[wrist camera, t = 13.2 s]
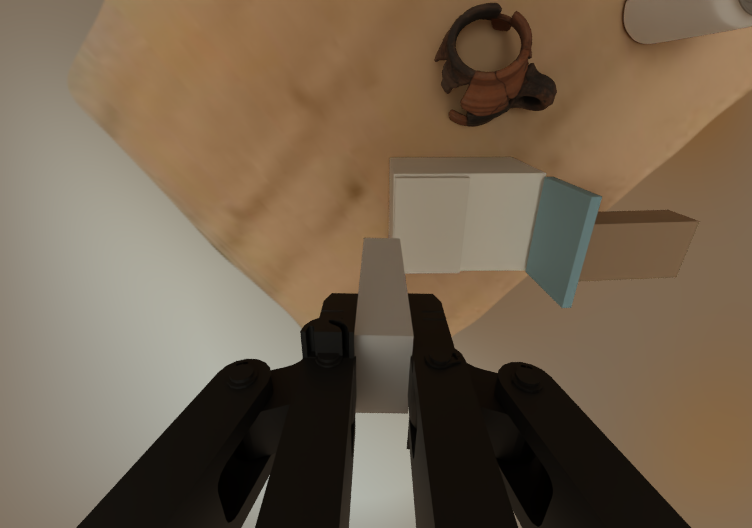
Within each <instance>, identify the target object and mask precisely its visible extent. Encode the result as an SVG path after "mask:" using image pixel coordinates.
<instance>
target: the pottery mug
mask: <svg viewBox="0 0 752 528" xmlns="http://www.w3.org/2000/svg"><path fill="white" fill-rule="evenodd" d="M501 11H502V8H501V6H500V5H499V4H498V3H486V4H481V5H477V6H475V7H472V8H470V9H469V10H467V11H466V12H464V14H463V15H461V16H460V17H459V18H457V19H456V21H455V22H454V24H453V25H452V27H451V28H450V30H449V31H448V32H447V34H446V35H445V37H444V39H443V42H442V44H441V46H440V48H439V50H438V52H437V54H436V57H435V62H437V61H439V60H446V63H445V64H444V66H443V70H442V78H443V79H442V82H441V86H442V88H443V89H444V91H445V92H446V93H447V94H449V93H450V92H451V90H452V89H453V88H457V87H459V86H462V85H467V84H469V86H468V88H467V90H466V93H465V95H464V97H463V98H462V100H461V102H460V103H461V107H462V108H463V109H464V110H466V111H468V112H467V116H464V115H462V114H460V113H458V112H456V111H454V110H451V111H450V112H449V118H450V119H451V120H452V121H453V122H455V123H457V124H460V125H464V126H479V125H483V124H485V123H487V122H489V121H491V120H492V119H494V118H495V117H498V116H500V115H501V114H503V113H505V112H507V111H508V109H509V108H524V109H528V110H533V111H541V110H544V109H546V108H547V107H548V106H550V105H552V103H553V101H554V98H555V95H556V93H557V90H556V85H555V83H554V81H553V80H552V79H551V78H549V77H548V76H546V75H544V74H541V73H540V72H538V71H537V69H536V67H535V65H534V63H530V64H529V65H528V59H530V58H531V57H532V52H531V46H532V33H531V29H530V27H529V24H528V22H527V20H526V19H525V18H524V17H523V16H522V15H521V14H520V13H519V12H517V11H516V12H515V13H514V14H513V16H512V18H511V17H509V16H507V15H504V14H501ZM479 19H483V20H484V19H486V20H491V23H492V26H493V28H494V29H496V30H500V31H508V30H509V29H510V28H511V26H512V27H513V28H514V29H515V30H516V31H517V32H518V34H519V36H520V39H521V50H520V54H519V56H518V57H517V59H516V60H515V61H514V62H513V63H512V64H510V65H509V66H507V67H505V68H504V69H501V70H498V71H495V72H481V71H474V70H473V69H471V68H469V67H468V66H466V65H465V64H464V63H463V62H462V61H461V59H460V58H459V56H458V54H457V51H456V48H455V47H456V45H455V44H456V39H457V36H458V34H459V33H460V31H461V30H462V29H463V28H464V27H465V26H466V25H468V24H470V23H471V22H473V21H476V20H479ZM509 99H510V100H509Z"/></svg>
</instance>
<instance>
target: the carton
mask: <svg viewBox="0 0 752 528" xmlns="http://www.w3.org/2000/svg"><path fill="white" fill-rule="evenodd" d="M545 177H546V173H545V172H543V171H541V170H539V169H536V168H534V167H532V166H530V165H528V164H526V163H524V162H522V161H519V160H517V159H515V158H513V157H390V172H389V238H400V243H401V250H402V257H403V264H404V271H405V273H460V271H517V270H526V266H527V262H528V257H529V252H530V247H531V242H532V237H533V232H534V227H535V222H536V217H537V212H538V208H539V203H540V198H541V193H542V188H543V183H544V178H545Z"/></svg>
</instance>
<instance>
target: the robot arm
mask: <svg viewBox="0 0 752 528" xmlns="http://www.w3.org/2000/svg"><path fill="white" fill-rule="evenodd" d="M300 333H301V343H302V353H303V359H302V360H301V361H300V362H298V363H296V364H294V365H291V366H288V367H284V368H279V369H275V370H270V367H269V366H268V365H267V364H266V363H265V362H263V361H260V360H257V359H244V360H240V361H236V362H234V363H231V364H229V365H227V366H226V367H224V368H223V369H222V370H221V371H219V372H218V373H217V374H216V376H215V377H214V378H213V379H212V380H211V381H210V382H209V383H208V384H207V385H206V387H205V388H204V389H203V390H202V391H201V392H200V393H199V394H198V395H197V396H196V398H195V399H194V400H193V401H192V402H191V403H190V404H189V405H188V406H187V407H186V408H185V410H184V411H183V412H182V413H181V414H180V415H179V416H178V417H177V418H176V419H175V420H174V421H173V423H172V424H171V425H170V426H169V427H168V428H167V429H166V430H165V431H164V432H163V434H162V435H161V436H160V437H159V438H158V439H157V440H156V441H155V442H154V443H153V444H152V446H151V447H150V448H149V449H148V450H147V451H146V452H145V453H144V454H143V455H142V456H141V458H140V459H139V460H138V461H137V462H136V463H135V464H134V465H133V466H132V468H130V470H129V471H128V472H127V473H126V474H125V475H124V476H123V477H122V479H120V481H119V482H118V483H117V484H116V485H115V486H114V487H113V488H112V489H111V490H110V492H109V493H108V494H107V495H106V496H105V497H104V498H103V499H102V500H101V501H100V502H99V504H98V505H97V506H96V507H95V508H94V509H93V510H92V511H91V512H90V513H89V514H88V516H87V517H86V518H85V519H84V520H83V521H82V522H81V523H80V524H79V525H78V526H77V528H241V527H242V525H243V523H244V521H245V520H246V518H247V516H248V514H249V512H250V510H251V508H252V507H253V505H254V503H255V501H256V499H257V497H258V495H259V494H260V492H261V490H262V488H263V486H264V484H265V482H266V480H267V479H268V477H269V480H268V483H267V487H266V491H265V494H264V498H263V502H262V505H261V508H260V512H259V516H258V519H257V523H256V526H255V528H349V516H350V502H351V501H350V500H351V486H352V471H353V457H354V441H355V413H408V407H409V427H408V428H409V429H408V440H407V449H410V457H411V469H412V481H413V493H414V505H415V517H416V528H518V526H517V522H516V519H515V516H514V513H515V515H516V517H517V519H518V520H519V522H520V524H521V526H522V528H691V527H690V526H689V525H688V524H687V523H686V522H685V521H684V520H683V518H682V517H681V516H679V514H678V513H677V512H676V511H675V510H674V509H673V508H672V507H671V506H670V504H669V503H668V502H667V501H666V500H665V499H664V498H663V497H662V496H661V495H660V494H659V493H658V492H657V490H656V489H655V488H654V487H653V486H652V485H651V484H650V483H649V482H648V481H647V480H646V479H645V478H644V476H643V475H642V474H641V473H640V472H639V471H638V470H637V469H636V468H635V467H634V466H633V465H632V464H631V462H630V461H629V460H628V459H627V458H626V457H625V456H624V455H623V454H622V453H621V452H620V451H619V450H618V448H617V447H616V446H615V445H614V444H613V443H612V442H611V441H610V440H609V439H608V438H607V437H606V436H605V434H603V432H602V431H601V430H600V429H599V428H598V427H597V426H596V425H595V424H594V423H593V422H592V420H590V418H589V417H588V416H587V415H586V414H585V413H584V412H583V411H582V410H581V409H580V408H579V406H577V404H576V403H575V402H574V401H573V400H572V399H571V398H570V397H569V396H568V395H567V394H566V392H565V391H564V390H563V389H561V387H560V386H559V385H558V384H557V383H556V382H555V381H554V380H553V379H552V377H551V376H549V375H548V374H547V373H545V371H543V370H542V369H539V368H538V367H536V366H533V365H531V364H526V363H523V362H511V363H508V364H505V365H503V366H502V367H501V368H500V369H499V371H498V373H495V372H491V371H487V370H483V369H480V368H476V367H474V366H472V365H470V364H468V363H466V361H465V359H464V357H463V356H462V354H461V353H460V352H459V351H457V350H456V349H455V348H454V344H453V341H452V338H451V334H450V331H449V327H448V324H447V321H446V317H445V314H444V310H443V307H442V303H441V301H440V300H439V299H437V298H436V297H435V296H434V295H433V294H408V293H407V286H406V278H405V271H404V264H403V257H402V250H401V243H400V238H364V243H363V253H362V263H361V273H360V282H359V292H358V294H346V293H332V294H331V295H330V296H329V297H327V298H326V299H325V300H324V302H323V306H322V310H321V314H320V317H319V318H318V319H315V320H312V321H310V322H309V323H307V324H306V325H304V327H303V328H302V330H301V331H300ZM269 475H270V476H269ZM513 511H514V513H513Z"/></svg>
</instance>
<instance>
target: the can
mask: <svg viewBox="0 0 752 528" xmlns="http://www.w3.org/2000/svg"><path fill="white" fill-rule="evenodd" d="M624 25H625V28H626V31H627V32H628V34H629V35H630V36H631V38H632V39H634V40H635V41H637V42H639V43H642V44H654V43H661V42H667V41H673V40H679V39H685V38H691V37H696V36H702V35H708V34H714V33H719V32H725V31H731V30H736V29H741V28H746V27H750V26H752V0H627V1H626V4H625V9H624Z"/></svg>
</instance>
